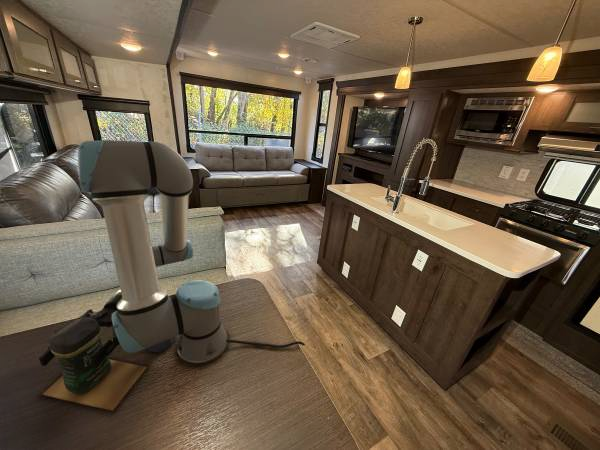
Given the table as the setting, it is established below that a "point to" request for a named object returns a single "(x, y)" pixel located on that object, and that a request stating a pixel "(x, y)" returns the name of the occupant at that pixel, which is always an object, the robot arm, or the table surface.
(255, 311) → the table surface
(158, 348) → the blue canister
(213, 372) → the table surface
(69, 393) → the cork mat
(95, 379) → the coffee jar
